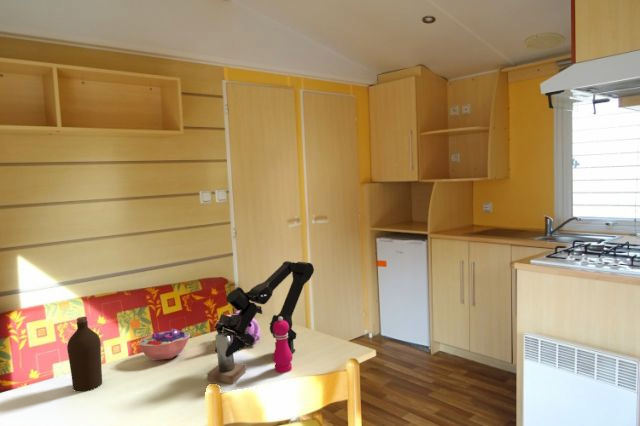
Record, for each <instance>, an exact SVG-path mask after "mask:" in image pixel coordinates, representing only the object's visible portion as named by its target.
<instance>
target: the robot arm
mask: <svg viewBox="0 0 640 426" xmlns="http://www.w3.org/2000/svg"><path fill="white" fill-rule="evenodd" d="M314 271H315V269H314V265H313V264H312V262H311V263H310V262H306V261H297V262H294V261H289V260H286V261H284V262H283V263H282V264H281V265H280V266H279V267H278V269H276V270H275V271H274V272H273V273H272V274H271V275H270V276H268V278H267V279H266V280H265V281H263V282H260V283H258V284H256V285H254V286H253V287H252V288H251V289H250V290H249V291H244V290H243V288H242V287H239V286H237V287H236V288H235V289H233V290H231V291H230V292H229V293H228V294H227V296H226V299H225V300H226V302H227V303H228V304H230V305H231V307H233V308H234V309H235V311H240V312H239V313H238V315H236V313H234V314H235V315H233V314H230V315H231V317H230V316H226V315H227V314H222V313H221V314H220V316H219V322H217V323H215V325H214V326H213V328H214V329H215V330H216V333H217V334H219V333H224V332H229V333H231V335H232V336H233V342H232V344H231V345H230V347H229V349H228V351H227V353H226V355H225V356H226V357H229V356H230V355H232V354H233V355H234V354H235V353H236V352H238V351H240V350H241V349H243V348H245V347H248V346H251V347H252V346H253V345H254V344H255V343H256V342H255V338H254V337H253V336H252V335H251V334H249V333H248V332H247V331H246V329H247V328H248V327H251V326H252V324H250V323H251V321H252V320H253V318H254V319H255V317H256V315H257V314H259V315H262V314H263V309H262V306H260V305H266V304H267V303H268V302H269V301H270V299H271V297H273V292H274V290H275V289H276V288H277V287H278V286H280V284H282V283H283V282H284V280H286V278H287V277H289V276H290V274H291V275H292V276H291V277H292V282H291V284H290V286H289V289H288V292H287V295H286V297H285V299H284V302H283V305H282V307H281V309H280V312H279V313H278V314H277V315H276V314H273V316H272V317H271V321H270V323H269V325H270V326H269V331H270V333H271V335H272V337H273V338H274V339H275V332H274V331H273V325H274V323H275V322H276V321H279V320H278V317H280V316H281V317H282V318H283V320H284V321H286V322H287V323H288V324H289V330H288V332H287V333H288V338H287V343H288V346H289V348H290V350H291V353H292V355H293V354H294V353H295V352H296V349H294V348H295V347H294V345H295V344H294V340H296V338H297V332H295V331H294V330H293V329H292V328H293V320H292V317H293V315H294V311H295V309H296V306H297V304H298V301H299V299H300V297H301V293H302V290H303V288H304V286H305V284H306V283H307V282H309V281H310V280H311V278H312V277H313V274H314ZM257 304H258V305H257ZM254 342H255V343H254ZM274 343H275V345H274V346H275V348H276V341H275V342H274ZM247 344H248V345H247ZM214 348H215V349H214V352H215V353H216V354H217V348H216V347H214ZM275 348H274V349H275Z"/></svg>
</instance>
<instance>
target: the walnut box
mask: <svg viewBox="0 0 640 426" xmlns="http://www.w3.org/2000/svg"><path fill="white" fill-rule="evenodd" d="M234 367H235V368H234V369H233V370H231V371H227V372H221V371H219V367H218V364H217V365H216V366H215V367H213V368H212V369H211V370H210V371H208V372H207V373H206V379H207V380H206V381H207V382H208V383H216V384H227V385H228V384H229V385H234V384H235V383H236V382H237V381H238V380H239V379H240V378H241V377H242V376H244V374H245V373H246V364H245V363H244V364H243V363H234Z"/></svg>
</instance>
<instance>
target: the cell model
mask: <svg viewBox="0 0 640 426" xmlns="http://www.w3.org/2000/svg"><path fill="white" fill-rule="evenodd" d="M190 337H191V334H190V333H189V332H187V331H183V330H178V329H176V328H171V330H169V331H167V330H165V331H161V332H158V331H157V332H154V333H152V334H151V335H148V336H145V337H143V338H141V339H140V341H139V342H138V345H139V347H140V349H141V351H142V353H143V354H144V355H145V356H147V357H148V358H150V359H151V360H154V361H161V360H170V359H173V358H174V357H176V356H178V355H180V354H181V353H182V352H183V350H184V349H185V347H186V346H187V344H188V342H189V339H190Z"/></svg>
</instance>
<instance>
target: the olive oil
mask: <svg viewBox="0 0 640 426" xmlns="http://www.w3.org/2000/svg"><path fill="white" fill-rule="evenodd" d="M87 319H88V317H87V316H80V317H77V318H76V328H77V329H76V330H75V332H74V333H73V334H72V335H71V337H70V338H69V339H68V342H67V346H66V347H67V348H66V349H67V354H68V355H67V356H68V361H69V362H68V363H69V368H70V374H71V382H72V389H74V390H75V392H77V391H84V392H89V391H92V390H95V389H98V388H99V387H100V386H102V384H103V370H102V366H103V365H102V341H101V339H100V336H99V334H98V333H96V332H95V331H94V330H93V329H91V328H89V325H88V320H87ZM98 386H99V387H98ZM94 388H95V389H94ZM91 389H92V390H91ZM74 390H73V391H74ZM88 390H89V391H88Z"/></svg>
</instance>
